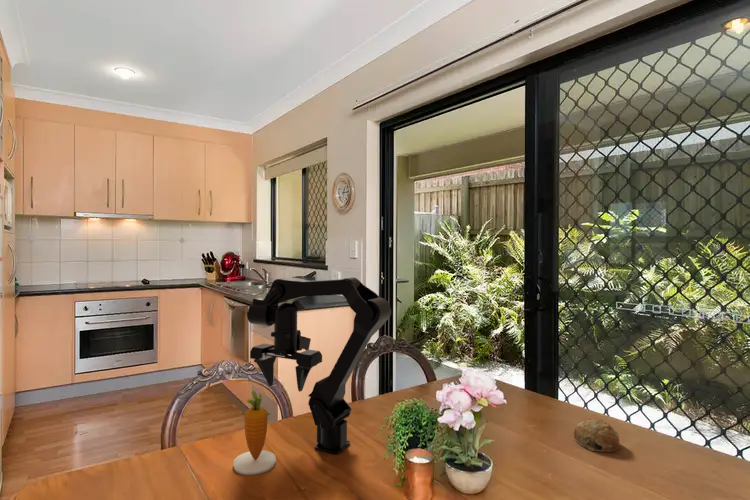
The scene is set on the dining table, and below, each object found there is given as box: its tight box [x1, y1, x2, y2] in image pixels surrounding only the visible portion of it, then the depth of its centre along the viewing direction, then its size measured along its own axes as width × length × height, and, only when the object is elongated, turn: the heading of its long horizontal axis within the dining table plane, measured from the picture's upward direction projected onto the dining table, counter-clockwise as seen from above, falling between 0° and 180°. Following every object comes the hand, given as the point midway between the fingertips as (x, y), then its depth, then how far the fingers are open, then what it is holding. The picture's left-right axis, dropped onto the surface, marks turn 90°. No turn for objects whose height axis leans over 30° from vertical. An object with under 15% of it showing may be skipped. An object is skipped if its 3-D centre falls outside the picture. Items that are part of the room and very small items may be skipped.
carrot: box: [244, 390, 269, 460], centre depth 98 cm, size 5×5×15 cm
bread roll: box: [573, 417, 620, 453], centre depth 109 cm, size 10×10×8 cm
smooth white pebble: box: [232, 449, 277, 476], centre depth 98 cm, size 9×9×1 cm
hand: (285, 388), depth 112 cm, fingers open, 9 cm apart
